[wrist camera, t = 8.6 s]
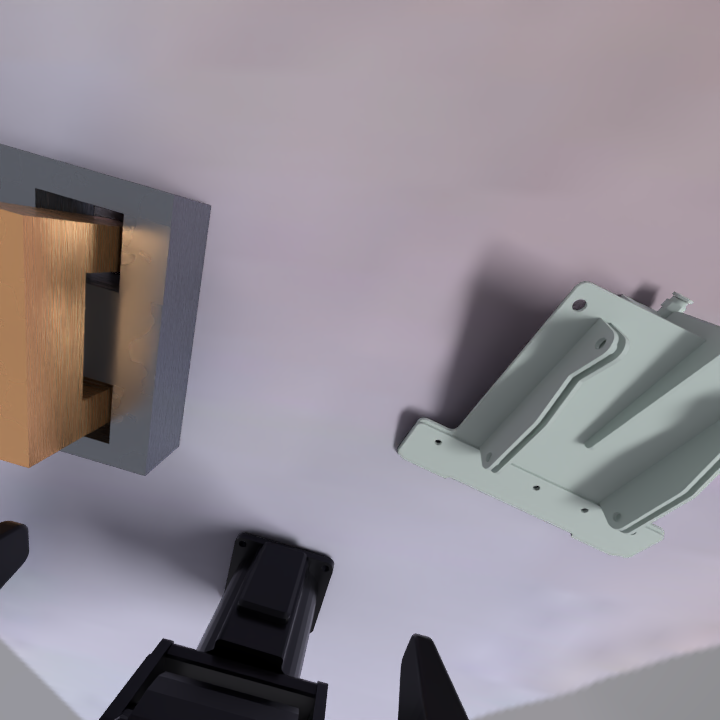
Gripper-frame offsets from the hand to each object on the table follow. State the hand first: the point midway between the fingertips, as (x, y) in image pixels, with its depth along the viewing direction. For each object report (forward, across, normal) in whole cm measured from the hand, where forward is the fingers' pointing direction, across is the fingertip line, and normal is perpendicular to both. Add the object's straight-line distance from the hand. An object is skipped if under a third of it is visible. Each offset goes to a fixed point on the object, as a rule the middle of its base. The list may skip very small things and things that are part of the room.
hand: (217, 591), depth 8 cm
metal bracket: (+13, -14, -2) cm, 19 cm away
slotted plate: (+12, +12, -1) cm, 17 cm away
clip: (+12, +12, -1) cm, 17 cm away
